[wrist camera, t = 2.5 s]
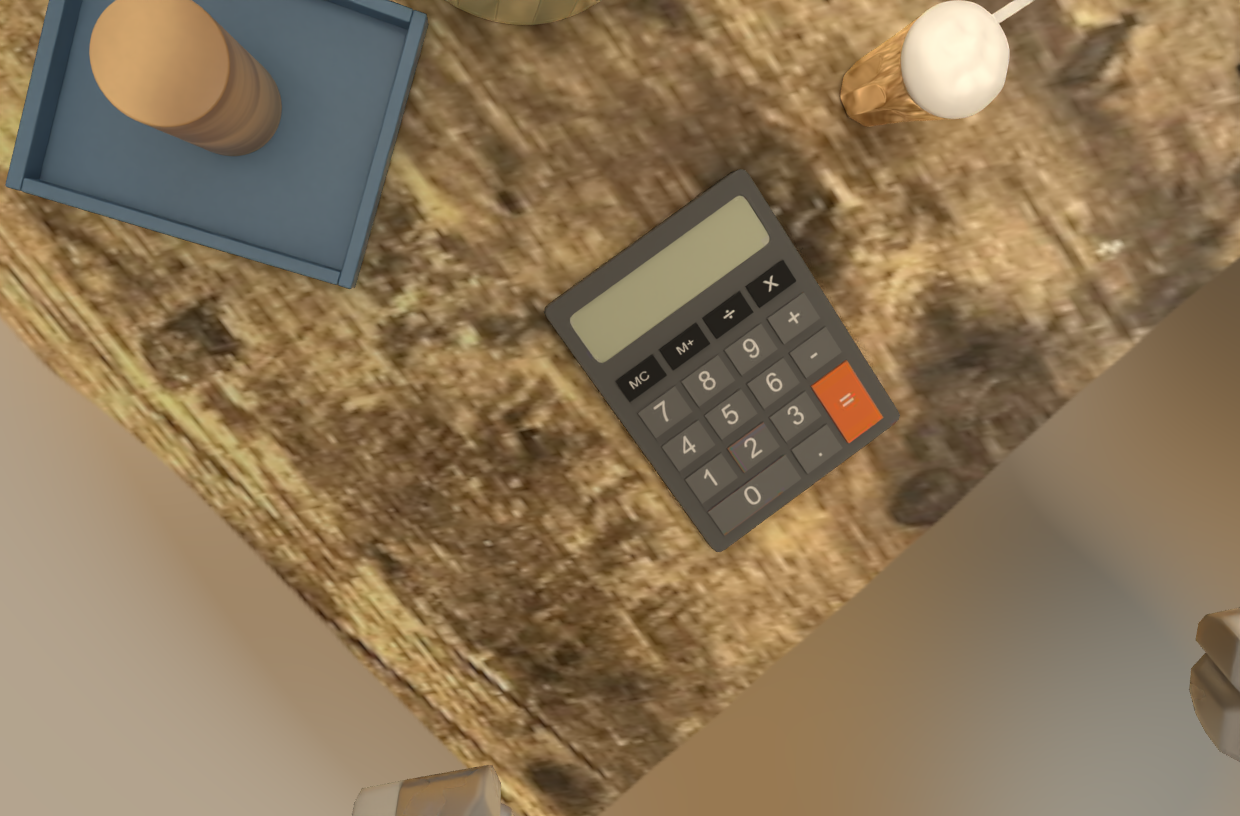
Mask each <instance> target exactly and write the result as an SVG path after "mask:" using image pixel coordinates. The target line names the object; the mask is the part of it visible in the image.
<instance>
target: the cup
mask: <svg viewBox="0 0 1240 816" xmlns="http://www.w3.org/2000/svg"><path fill="white" fill-rule="evenodd" d="M445 1H447V2H449V3H450V4H452V5H454V6H455V7H457V8H459V9H461V10H463V11H465V12H468V13H470V14H472V15H474V16H477V17H480V18H484V19H487V20H490V21H494V22H499V23H506V24H512V25H536V24H544V23H551V22H555V21H559V20H563V19H566V18H569V17H572V16H574V15H576V14H579V13H581V12H583V11H585V10H587V9H589V8H590V7H592V6H594V5H595V4H597V3H599V2H600V1H602V0H445Z"/></svg>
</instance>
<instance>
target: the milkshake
mask: <svg viewBox="0 0 1240 816" xmlns="http://www.w3.org/2000/svg"><path fill="white" fill-rule="evenodd" d="M1034 1H1035V0H1013V1H1012V2H1010V3H1009V4H1007V5H1006V6H1004V7H1003V8H1001V9H1000V10H998V11H996V12H995V13H993V14H992V15H991V14H990V13H989V12H988V11H987V10H985V9H984V8H983V7H981V6H980V5H978V4H976V3H973V2H969V1H961V0H955V1H947V2H943V3H940V4H937V5H935V6H933V7H931V8H930V9H928V10H927V11H926V12H924V13H923V14H922V15H920V16H919V17H918V18H916V19H915V20H914V21H912V22H911V23H910V24H909V25H907V26H906V27H905V28H903V29H902V30H901V31H900V32H898V33H897V34H895V35H894V36H892V37H891V38H889V39H888V40H887V41H885V42H884V43H882V44H881V45H879V46H878V47H876V48H875V49H873V50H872V51H871V52H869V53H868V54H866V55H865V56H863V57H862V58H860V59H859V60H858V61H857V62H856V63H855V64H854V65H853V66H852V67H851V68H850V69H849V70H848V71H847V72H846V73H845V74H844V76H843V82H842V88H841V93H840V99H841V101H842V103H843V106H844V108H845V110H846V113H847V115H848V117H850V118H852V119H853V120H855V121H857V122H858V123H860V124H862V125H863V126H865V127H869V126H876V125H884V124H891V123H899V122H907V121H926V120H943V119H960V118H966V117H969V116H972V115H974V114H976V113H978V112H980V111H981V110H982V109H984V108H985V107H986V106H987V105H988V104H989V103H990V102H991V101H992V100H993V99H994V98H995V97H996V96H997V95H998V94H999V92H1000V91H1001V90H1002V88H1003V86H1004V83H1005V79H1006V74H1007V69H1008V63H1009V46H1008V42H1007V39H1006V36H1005V34H1004V32H1003V30H1002V28H1001V26H1000V25H999V23H1001V22H1002V21H1004V20H1005V19H1007V18H1009V17H1010V16H1012V15H1013V14H1015V13H1016V12H1018V11H1019V10H1021V9H1023V8H1024V7H1026V6H1027V5H1029V4H1030V3H1032V2H1034Z"/></svg>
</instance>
